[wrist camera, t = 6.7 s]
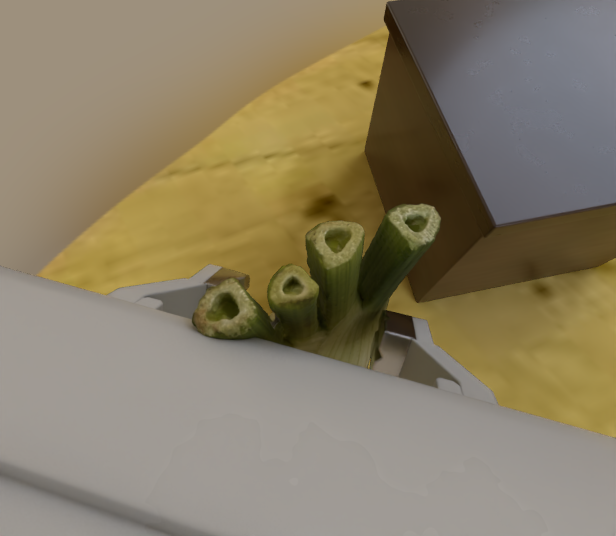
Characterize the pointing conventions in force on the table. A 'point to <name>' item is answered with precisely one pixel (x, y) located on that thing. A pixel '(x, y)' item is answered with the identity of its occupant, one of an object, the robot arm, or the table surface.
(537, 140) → the stand
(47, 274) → the table surface
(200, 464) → the robot arm
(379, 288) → the fennel bulb
